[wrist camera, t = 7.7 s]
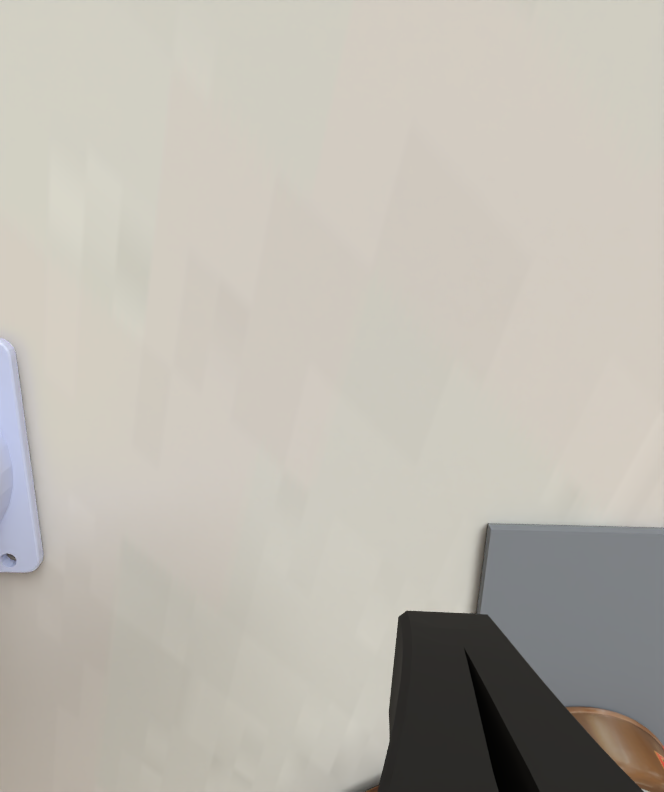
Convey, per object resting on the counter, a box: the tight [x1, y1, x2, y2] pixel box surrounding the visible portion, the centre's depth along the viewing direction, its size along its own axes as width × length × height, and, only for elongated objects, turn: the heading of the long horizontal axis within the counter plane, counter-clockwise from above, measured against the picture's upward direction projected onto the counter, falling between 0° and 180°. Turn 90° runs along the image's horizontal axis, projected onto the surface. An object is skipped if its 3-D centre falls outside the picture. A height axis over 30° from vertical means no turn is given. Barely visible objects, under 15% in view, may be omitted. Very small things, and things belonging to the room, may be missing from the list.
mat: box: [477, 523, 664, 746], centre depth 23 cm, size 8×17×1 cm, turn 178°
